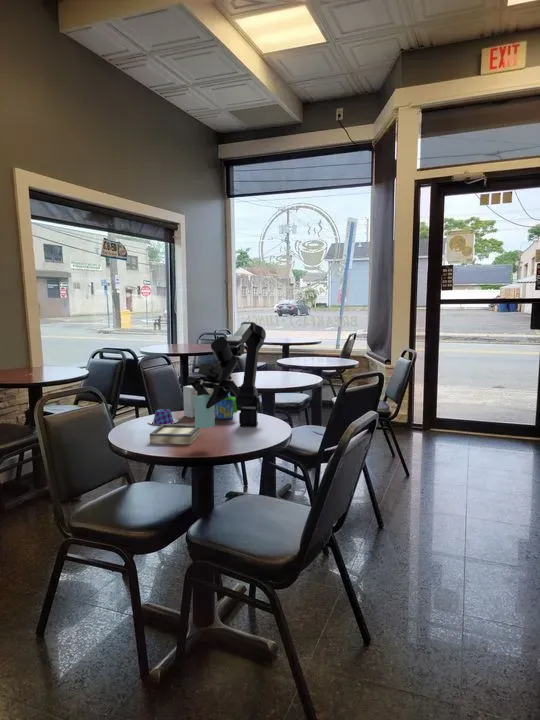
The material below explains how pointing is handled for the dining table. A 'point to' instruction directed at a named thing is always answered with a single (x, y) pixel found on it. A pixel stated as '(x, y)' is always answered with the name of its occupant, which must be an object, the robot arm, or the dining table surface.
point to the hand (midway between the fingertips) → (201, 407)
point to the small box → (189, 401)
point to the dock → (174, 434)
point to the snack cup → (225, 408)
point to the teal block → (203, 412)
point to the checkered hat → (163, 417)
